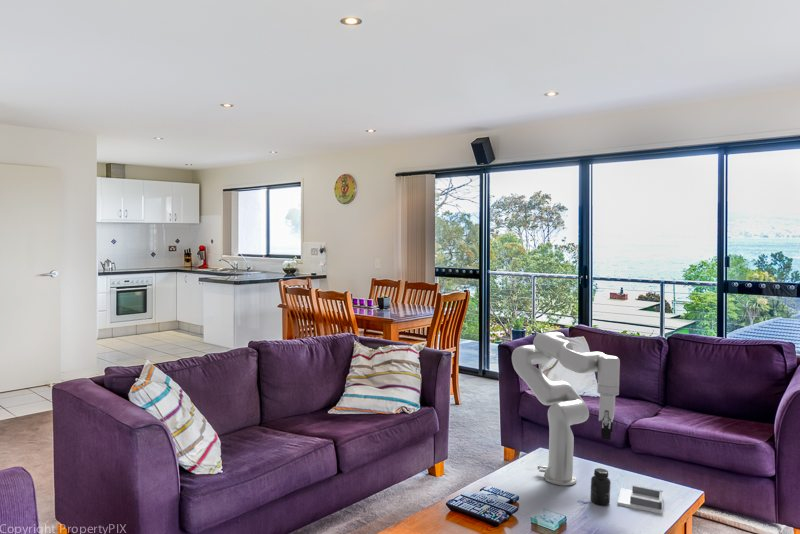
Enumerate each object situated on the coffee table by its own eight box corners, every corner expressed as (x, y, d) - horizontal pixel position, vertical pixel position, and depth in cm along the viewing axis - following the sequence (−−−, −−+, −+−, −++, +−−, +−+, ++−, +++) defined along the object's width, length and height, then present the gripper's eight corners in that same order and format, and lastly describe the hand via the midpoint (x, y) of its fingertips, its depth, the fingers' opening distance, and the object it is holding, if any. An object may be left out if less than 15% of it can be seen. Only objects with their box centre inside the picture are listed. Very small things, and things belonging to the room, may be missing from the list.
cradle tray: (617, 504, 212) (617, 495, 212) (620, 490, 225) (621, 481, 225) (662, 514, 206) (662, 504, 206) (663, 498, 219) (663, 489, 218)
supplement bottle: (611, 507, 210) (612, 475, 210) (591, 505, 211) (592, 473, 211) (608, 499, 217) (609, 467, 216) (589, 497, 218) (590, 466, 218)
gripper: (599, 383, 223) (597, 427, 223) (595, 393, 207) (594, 440, 207) (620, 385, 220) (618, 430, 220) (617, 395, 204) (616, 443, 205)
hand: (606, 435), depth 214 cm, fingers open, 9 cm apart
